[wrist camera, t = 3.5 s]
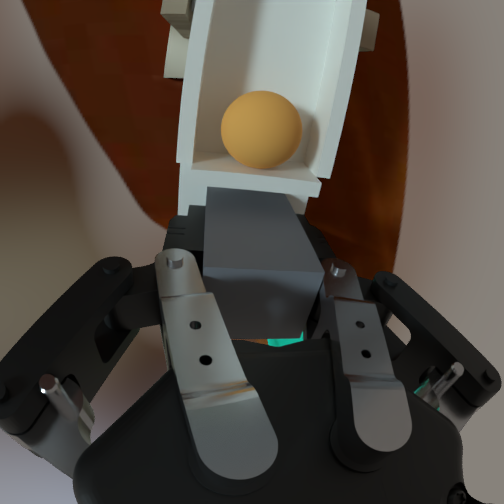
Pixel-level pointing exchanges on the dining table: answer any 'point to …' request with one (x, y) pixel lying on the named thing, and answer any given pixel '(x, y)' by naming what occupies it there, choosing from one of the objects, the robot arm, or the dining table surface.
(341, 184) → the dining table surface
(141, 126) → the dining table surface
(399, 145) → the dining table surface
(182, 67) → the lever stand
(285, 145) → the ball
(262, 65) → the board
